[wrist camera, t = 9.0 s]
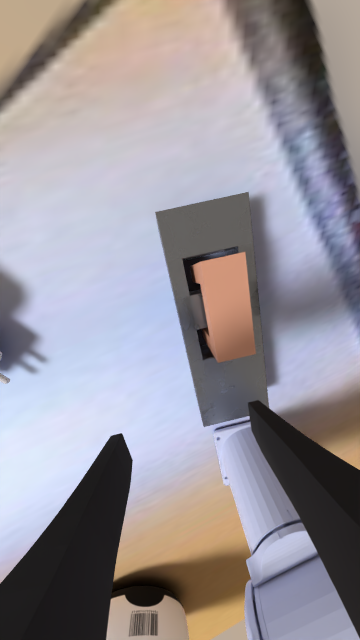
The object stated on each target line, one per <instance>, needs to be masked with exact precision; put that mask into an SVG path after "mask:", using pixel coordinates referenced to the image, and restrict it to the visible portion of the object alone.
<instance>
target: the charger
mask: <svg viewBox="0 0 360 640" xmlns="http://www.w3.org/2000/svg"><path fill="white" fill-rule="evenodd" d="M1 357H2V352H0V360H1ZM0 381H1V382H3V383H4V384H7V383H8V382H9V381H10V379H9V378H7V377H6V376H4V375H3V374H1V373H0Z"/></svg>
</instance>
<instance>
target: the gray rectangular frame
mask: <svg viewBox="0 0 360 640" xmlns="http://www.w3.org/2000/svg"><path fill="white" fill-rule="evenodd" d="M155 213H156V219H157V225H158V229H159V234H160V238H161V242H162V247H163V251H164V256H165V260H166V264H167V269H168V273H169V278H170V282H171V287H172V291H173V295H174V300H175V304H176V309H177V313H178V317H179V322H180V326H181V331H182V335H183V339H184V344H185V348H186V353H187V357H188V361H189V366H190V370H191V375H192V379H193V384H194V388H195V392H196V397H197V401H198V406H199V410H200V414H201V418H202V422H203V426H204V427H205V426H210V425H214V424H218V423H222V422H226V421H230V420H234V419H238V418H242V417H246V416H249V408H248V402H252V401H256V400H259V401H261V402H262V403H263V404H264V405H266V406H267V407H268V408H269V404H268V393H267V383H266V372H265V361H264V351H263V340H262V330H261V319H260V309H259V298H258V288H257V277H256V266H255V256H254V245H253V235H252V224H251V214H250V203H249V193H248V192H246V193H242V194H237V195H233V196H228V197H223V198H219V199H214V200H209V201H205V202H200V203H196V204H191V205H186V206H182V207H177V208H173V209H168V210H163V211H159V212H155ZM221 252H225V254H226V256H228V255H233V254H237V253H242V252H245V255H246V264H247V274H248V284H249V293H250V303H251V312H252V322H253V331H254V341H255V350H256V354H254V355H249V356H245V357H241V358H237V359H232V360H228V361H224V362H220V363H218V362H217V360H216V359H215V357H214V355H213V354H212V352H211V350H210V349H209V347H208V345H203V346H200V344H199V339H198V334H197V330H198V329H202V328H206V327H208V324H207V319H206V313H205V308H204V302H203V296H202V291H201V289H200V290H196V291H191V292H189V290H188V285H187V280H186V275H185V270H184V265H183V261H185V260H189V259H194V258H198V257H203V256H207V255H212V254H216V253H221Z"/></svg>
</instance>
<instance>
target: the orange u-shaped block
mask: <svg viewBox="0 0 360 640" xmlns="http://www.w3.org/2000/svg"><path fill="white" fill-rule="evenodd" d="M190 272H191V277H192V282H194V283H199V284H200V285H201V291H202V296H203V302H204V308H205V313H206V319H207V324H208V327H206V328H202V329H201V330H202V335H203V339H204V340H205V342H206V344H207V345H208V347H209V349H210V350H211V352H212V354H213V355H214V357H215V359H216V360H217V362H218V363H220V362H224V361H228V360H232V359H237V358H241V357H245V356H249V355H254V354H256V350H255V341H254V331H253V322H252V312H251V303H250V293H249V284H248V274H247V264H246V255H245V252H242V253H237V254H233V255H228V256H224V257H219V258H215V259H210V260H206V261H201V262H199V263H196V264H194V265H192V266H190Z"/></svg>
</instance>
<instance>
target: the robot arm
mask: <svg viewBox="0 0 360 640" xmlns="http://www.w3.org/2000/svg"><path fill="white" fill-rule="evenodd" d="M248 408H249V416H250V422H247V423H243V424H239V425H235V426H231V427H227V428H223V429H219V430H215V431H214V432H213V436H214V441H215V445H216V450H217V455H218V460H219V464H220V469H221V474H222V479H223V483H224V485H226V486H228V485H230V487H231V490H232V493H233V497H234V500H235V503H236V506H237V510H238V513H239V516H240V519H241V523H242V526H243V529H244V533H245V536H246V539H247V542H248V546H249V549H250V552H251V555H252V556H251V557H250V558H248V559H247V560H246V563H247V566H248V570H249V574H250V577H251V580H249V581H248V582H247V584H246V588H245V606H244V610H245V623H246V631H247V637H248V640H360V470H359V469H357V468H355V467H354V466H352V465H350V464H349V463H347V462H345V461H344V460H342V459H340V458H339V457H337V456H335V455H334V454H332V453H331V452H329V451H328V450H326V449H325V448H323V447H321V446H320V445H319V444H317V443H316V442H314V441H313V440H311V439H310V438H308V437H307V436H305V435H304V434H302V433H301V432H300V431H298V430H297V429H296V428H294V427H293V426H291V425H290V424H289V423H287V422H286V421H285V420H283V419H282V418H281V417H279V416H278V415H277V414H276V413H274V412H273V411H272V410H271V409H269V408H268V407H267V406H266V405H264V404H263V403H262V402H261V401H259V400H256V401H252V402H248ZM132 461H133V460H132V458H131V455H130V453H129V450H128V447H127V445H126V442H125V440H124V437H123V435H122V433H121V434H117V435H113V436H111V437H110V438H109V440H108V441H107V443H106V444H105V446H104V447H103V449H102V450H101V452H100V453H99V455H98V456H97V458H96V459H95V461H94V462H93V464H92V466H91V467H90V468H89V470H88V471H87V473H86V474H85V476H84V477H83V479H82V480H81V482H80V483H79V485H78V486H77V488H76V489H75V490H74V492H73V493H72V495H71V496H70V497H69V499H68V500H67V501H66V503H65V504H64V506H63V507H62V508H61V510H60V511H59V513H58V514H57V515H56V517H55V518H54V519H53V520H52V522H51V523H50V524H49V526H48V527H47V528H46V530H45V531H44V532H43V533H42V535H41V536H40V537H39V538H38V540H37V541H36V542H35V543H34V545H33V546H32V547H31V548H30V550H29V551H28V552H27V553H26V554H25V556H24V557H23V558H22V559H21V560H20V561H19V563H18V564H17V565H16V566H15V567H14V568H13V570H12V571H11V572H10V573H9V574H8V575H7V577H6V578H5V579H4V580H3V581H2V583H1V584H0V640H106V637H107V628H108V619H109V610H110V602H111V594H112V587H113V579H114V571H115V564H116V558H117V552H118V547H119V542H120V536H121V531H122V526H123V521H124V516H125V510H126V505H127V500H128V494H129V489H130V482H131V473H132Z"/></svg>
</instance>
